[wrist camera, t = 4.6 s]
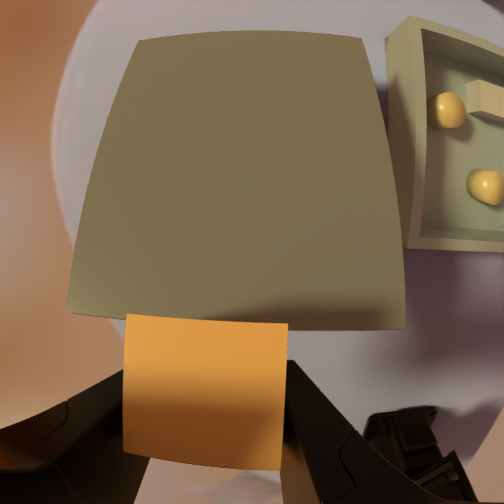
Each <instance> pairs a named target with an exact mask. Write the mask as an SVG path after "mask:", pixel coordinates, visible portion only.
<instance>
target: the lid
mask: <svg viewBox="0 0 504 504" xmlns="http://www.w3.org/2000/svg"><path fill="white" fill-rule="evenodd" d="M66 312H70V313H75V314H80V315H88V316H95V317H103V318H111V319H120V320H126V331H125V348H124V369H123V449H124V452H127V453H132V454H136V455H141V456H146V457H151V458H156V459H161V460H167V461H173V462H179V463H186V464H193V465H202V466H211V467H221V468H232V469H246V470H269V471H280V468H281V454H282V439H283V423H284V406H285V386H286V364H287V339H288V331H376V330H399V329H406V300H405V276H404V260H403V247H402V236H401V226H400V217H399V208H398V201H397V193H396V186H395V179H394V173H393V167H392V161H391V155H390V150H389V145H388V139H387V134H386V130H385V125H384V120H383V116H382V111H381V107H380V103H379V99H378V94H377V90H376V87H375V83H374V79H373V75H372V72H371V68H370V65H369V61H368V58H367V54H366V51H365V48H364V45H363V41H362V38H356V37H349V36H341V35H332V34H322V33H310V32H294V31H222V32H206V33H194V34H184V35H175V36H167V37H160V38H153V39H147V40H140V41H138V43H137V45H136V48H135V50H134V52H133V54H132V57H131V59H130V61H129V64H128V66H127V68H126V71H125V73H124V76H123V78H122V81H121V83H120V86H119V88H118V91H117V94H116V96H115V99H114V102H113V105H112V107H111V110H110V113H109V116H108V119H107V122H106V125H105V128H104V131H103V134H102V137H101V141H100V144H99V147H98V151H97V154H96V158H95V161H94V165H93V168H92V172H91V176H90V180H89V184H88V188H87V192H86V196H85V200H84V205H83V209H82V214H81V218H80V223H79V228H78V233H77V239H76V244H75V250H74V256H73V262H72V269H71V276H70V284H69V292H68V300H67V310H66Z"/></svg>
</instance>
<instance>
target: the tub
mask: <svg viewBox="0 0 504 504" xmlns="http://www.w3.org/2000/svg"><path fill="white" fill-rule="evenodd" d="M385 48H386V64H387V87H388V145H389V150H390V155H391V161H392V167H393V173H394V179H395V186H396V193H397V201H398V208H399V217H400V226H401V236H402V245H403V246H404V247H406V248H407V249H430V250H455V251H478V252H501V253H504V48H502V47H500V46H497V45H495V44H493V43H490V42H488V41H485V40H483V39H480V38H478V37H475V36H473V35H470V34H467V33H464V32H462V31H459V30H456V29H453V28H450V27H447V26H444V25H441V24H437V23H434V22H431V21H427V20H423V19H420V18H416V17H412V16H408V17H407V18H406V19H405V20H404V21H403V22H402V23H401V24H400V25H399V26H398V27H397V28H396V29H394V30H393V31H392V32H391V33H390V34H389V35H388V36H387V37H386V38H385Z"/></svg>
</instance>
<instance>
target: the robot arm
mask: <svg viewBox="0 0 504 504" xmlns="http://www.w3.org/2000/svg"><path fill="white" fill-rule="evenodd" d="M436 415H437V410H436V408H435V407H430V408H424V409H417V410H410V411H402V412H393V413H384V414H374V415H371V416H370V417H369V418H368V420H367V423H366V426H365V429H364V432H363V435H362V436H361V435H360V434H359V432H358V431H357V430H355V428H354V427H353V426H352V425H351V424H350V423H349V422H348V421H347V419H346V418H345V417H344V416H343V415H342V414H341V413H340V412H339V411H338V410H337V408H336V407H335V406H334V405H333V404H332V403H331V402H330V401H329V400H328V398H327V397H326V396H325V395H324V394H323V393H322V392H321V391H320V389H319V388H318V387H317V386H316V385H315V384H314V383H313V381H312V380H311V379H310V378H309V377H308V376H307V375H306V374H305V372H304V371H303V370H302V369H301V368H300V367H299V366H298V364H297V363H296V362H295V361H294V360H287V364H286V386H285V406H284V423H283V439H282V454H281V468H280V478H281V486H282V494H283V503H284V504H504V503H492V502H490V503H489V502H479V501H478V499H477V497H476V494H475V492H474V490H473V487H472V485H471V483H470V481H469V479H468V477H467V475H466V473H465V470H464V468H463V466H462V464H461V462H460V460H459V458H458V456H457V454H456V452H455V451H454V450H453V451H452V452H450V453H449V455H447V456H446V457H444V458H443V456H442V454H441V452H440V450H439V447H438V445H437V444H438V442H437V440H436V438H435V436H434V433H433V431H432V429H431V425H432V423H433V421H434V419H435V417H436ZM373 420H374V421H373ZM150 458H151V457H146V456H141V455H136V454H132V453H127V452H124V449H123V369H122V370H121V371H119V372H117V373H115V374H113V375H112V376H110V377H108V378H106V379H104V380H103V381H101V382H99V383H97V384H95V385H93V386H92V387H90V388H88V389H86V390H84V391H82V392H80V393H79V394H77V395H75V396H73V397H71V398H69V399H68V400H67V401H64V402H62V403H60V404H58V405H56V406H54V407H52V408H50V409H48V410H46V411H44V412H42V413H39V414H37V415H35V416H33V417H30V418H28V419H26V420H23V421H21V422H18V423H15V424H13V425H10V426H7V427H5V428H2V429H0V504H134V501H135V499H136V496H137V493H138V490H139V488H140V485H141V482H142V479H143V476H144V474H145V471H146V468H147V466H148V463H149V460H150Z"/></svg>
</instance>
